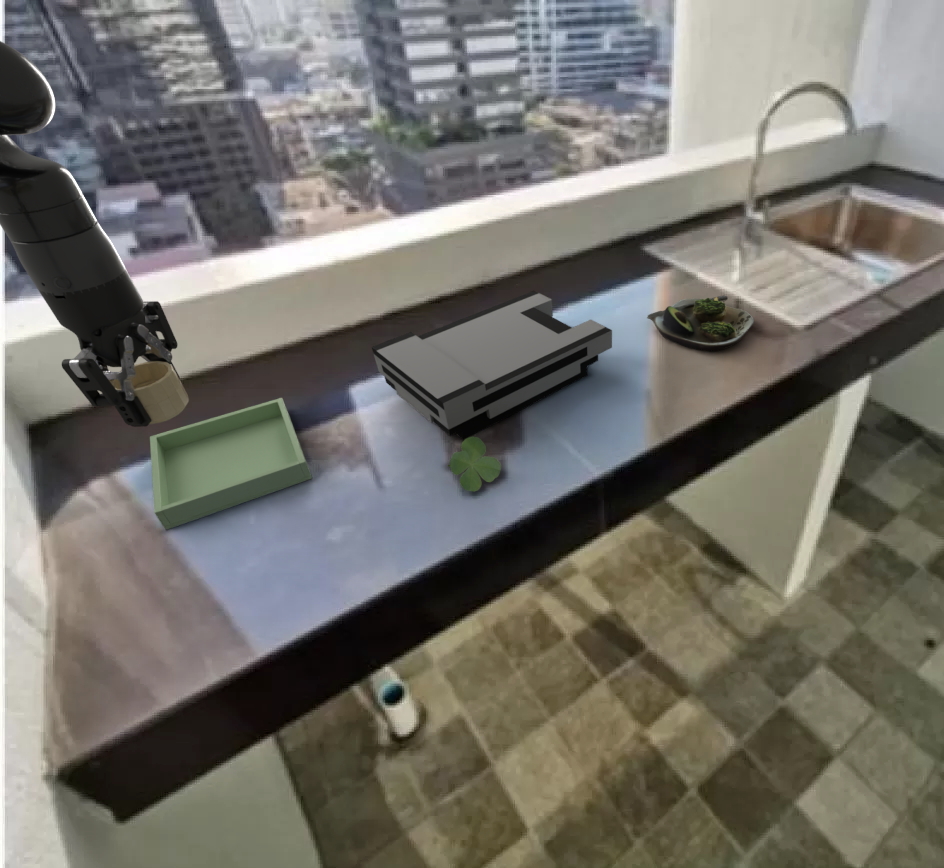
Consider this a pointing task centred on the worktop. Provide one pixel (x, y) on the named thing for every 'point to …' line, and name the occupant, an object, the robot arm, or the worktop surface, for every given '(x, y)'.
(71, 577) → the worktop surface
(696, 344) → the salad plate
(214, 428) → the tray
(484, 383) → the game console
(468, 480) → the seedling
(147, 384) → the beige cup
